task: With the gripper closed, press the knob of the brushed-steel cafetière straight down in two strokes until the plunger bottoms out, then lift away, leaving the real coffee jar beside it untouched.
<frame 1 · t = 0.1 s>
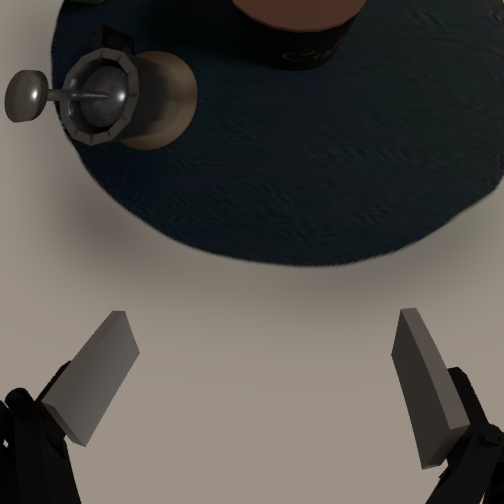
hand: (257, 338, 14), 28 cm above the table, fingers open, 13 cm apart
plunger: (70, 95, 21), point 17 cm above the table, slide at 0.0 cm
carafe: (146, 99, 35), resting on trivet
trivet: (148, 99, 36), on the table
coffee jar: (295, 34, 31), on the table
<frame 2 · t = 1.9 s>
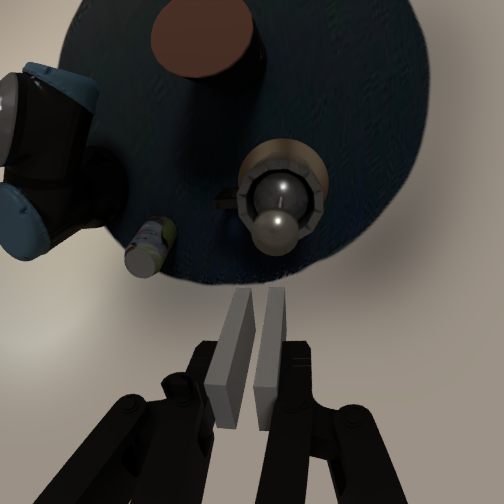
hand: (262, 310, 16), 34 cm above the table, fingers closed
plunger: (278, 212, 32), point 17 cm above the table, slide at 0.0 cm
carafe: (283, 183, 47), resting on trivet
beverage can: (165, 231, 53), on the table
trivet: (283, 183, 47), on the table
coffee jar: (233, 62, 40), on the table
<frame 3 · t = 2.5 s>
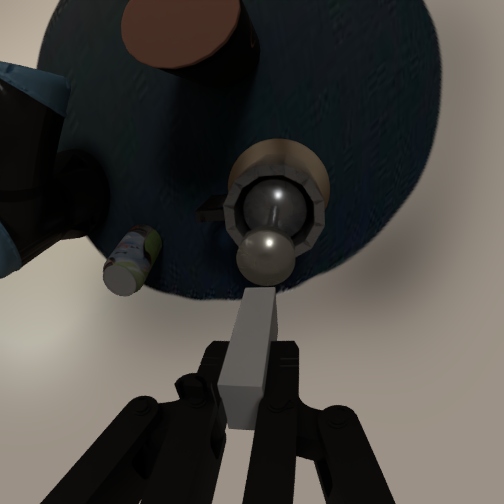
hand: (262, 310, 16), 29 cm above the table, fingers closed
plunger: (271, 228, 27), point 17 cm above the table, slide at 0.0 cm
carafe: (278, 189, 41), resting on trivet
beverage can: (150, 242, 48), on the table
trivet: (278, 188, 42), on the table
coffee jar: (222, 53, 35), on the table
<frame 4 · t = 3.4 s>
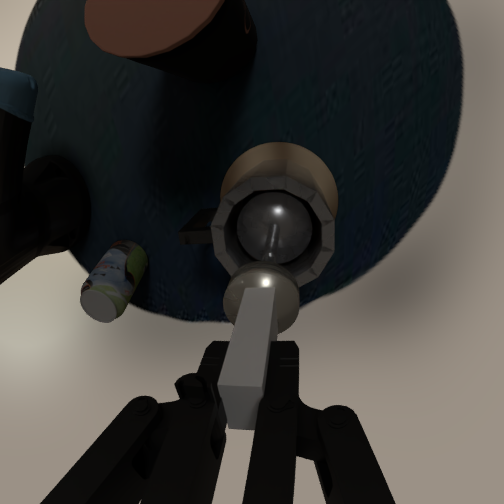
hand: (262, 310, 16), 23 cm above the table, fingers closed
plunger: (269, 256, 22), point 16 cm above the table, slide at 0.5 cm, touching gripper
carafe: (278, 201, 36), resting on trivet
beverage can: (135, 258, 43), on the table
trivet: (279, 200, 37), on the table
coffee jar: (213, 44, 30), on the table
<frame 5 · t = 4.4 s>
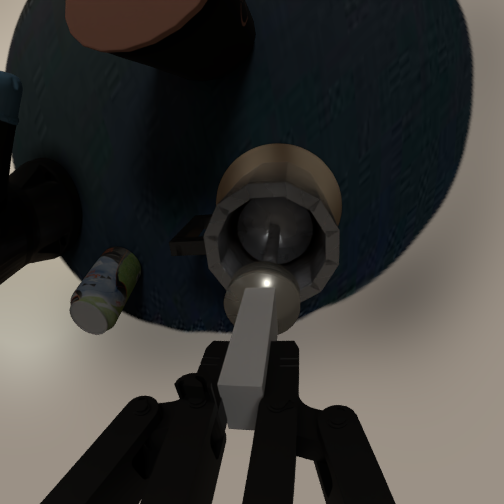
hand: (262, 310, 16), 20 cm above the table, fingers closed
plunger: (270, 256, 22), point 14 cm above the table, slide at 2.9 cm, touching gripper
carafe: (278, 207, 34), resting on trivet
beverage can: (128, 265, 40), on the table
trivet: (278, 205, 34), on the table
coffee jar: (208, 39, 28), on the table
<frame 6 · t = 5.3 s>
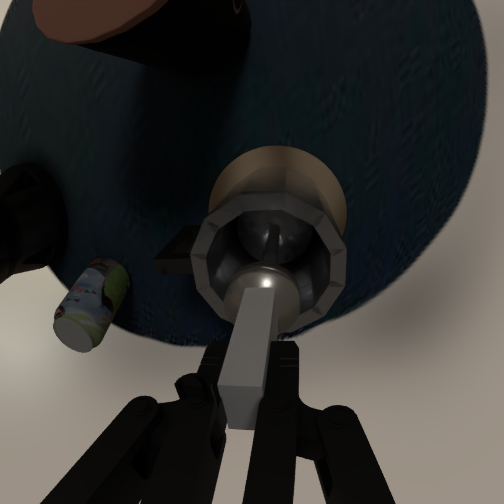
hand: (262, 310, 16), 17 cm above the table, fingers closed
plunger: (270, 256, 22), point 10 cm above the table, slide at 6.3 cm, touching gripper
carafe: (277, 216, 31), resting on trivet
beverage can: (116, 277, 37), on the table
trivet: (277, 214, 31), on the table
coffee jar: (200, 31, 25), on the table
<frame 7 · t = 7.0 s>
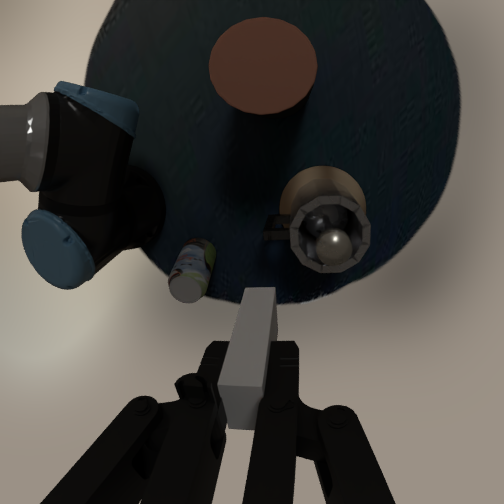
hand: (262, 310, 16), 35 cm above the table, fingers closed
plunger: (329, 230, 39), point 10 cm above the table, slide at 6.3 cm
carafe: (323, 209, 48), resting on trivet
beverage can: (203, 253, 55), on the table
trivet: (323, 208, 48), on the table
coffee jar: (275, 86, 42), on the table
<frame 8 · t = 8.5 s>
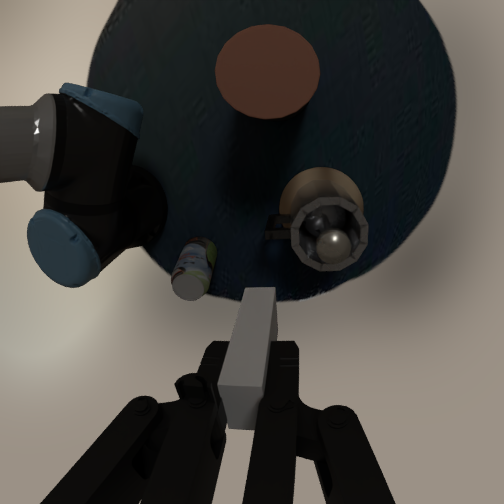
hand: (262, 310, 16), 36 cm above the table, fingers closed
plunger: (328, 229, 40), point 10 cm above the table, slide at 6.3 cm
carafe: (322, 209, 49), resting on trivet
beverage can: (204, 251, 56), on the table
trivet: (321, 209, 50), on the table
coffee jar: (276, 89, 43), on the table
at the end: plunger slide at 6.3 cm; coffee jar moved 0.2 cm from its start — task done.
